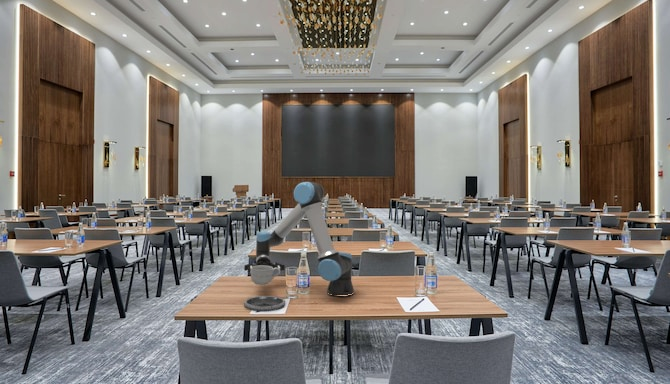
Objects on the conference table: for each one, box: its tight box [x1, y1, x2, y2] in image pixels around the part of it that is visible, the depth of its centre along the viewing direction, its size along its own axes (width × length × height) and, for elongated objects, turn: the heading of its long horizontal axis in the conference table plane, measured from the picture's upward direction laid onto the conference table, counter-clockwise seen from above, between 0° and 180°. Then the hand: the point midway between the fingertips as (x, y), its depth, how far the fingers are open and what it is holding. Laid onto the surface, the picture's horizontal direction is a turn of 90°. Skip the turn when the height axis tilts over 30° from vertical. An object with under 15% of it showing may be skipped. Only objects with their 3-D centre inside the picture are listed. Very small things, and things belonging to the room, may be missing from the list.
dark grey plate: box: [243, 295, 286, 312], centre depth 205 cm, size 20×20×2 cm
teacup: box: [250, 265, 280, 286], centre depth 202 cm, size 14×11×8 cm
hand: (265, 270), depth 204 cm, fingers closed on teacup, 13 cm apart
